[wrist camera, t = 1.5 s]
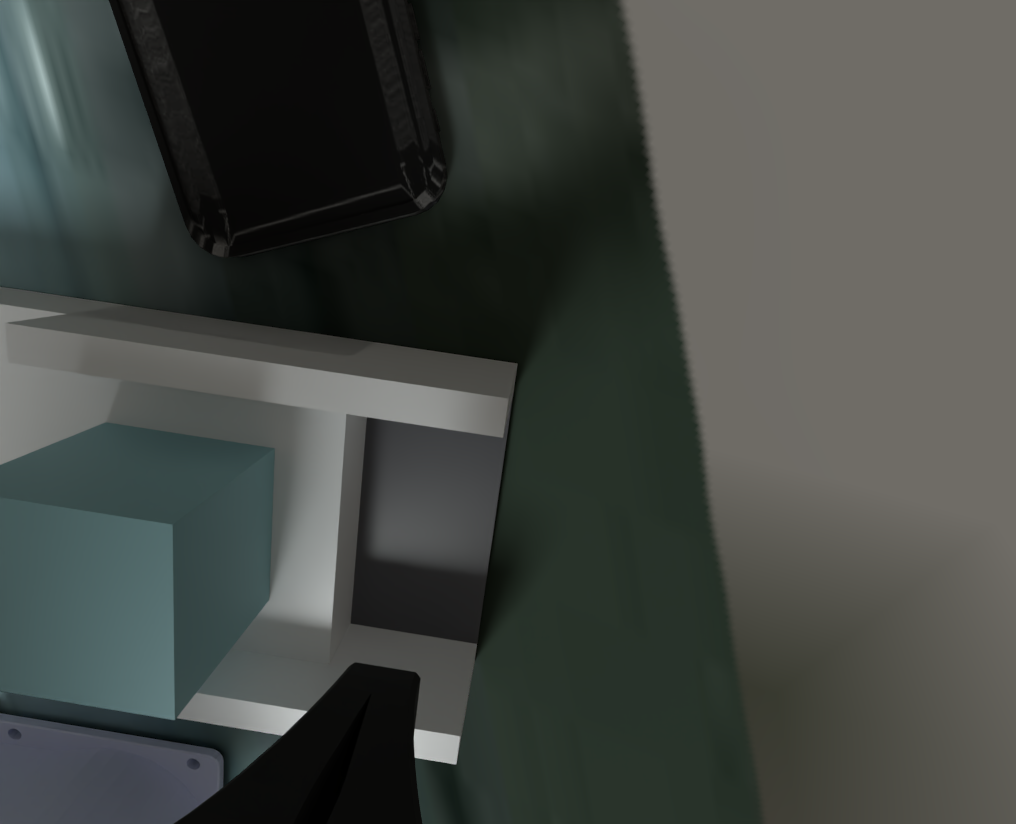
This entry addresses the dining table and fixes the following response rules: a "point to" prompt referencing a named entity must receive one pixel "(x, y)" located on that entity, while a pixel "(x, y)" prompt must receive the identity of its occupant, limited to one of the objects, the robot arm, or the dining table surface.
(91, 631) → the teal block
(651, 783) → the dining table surface
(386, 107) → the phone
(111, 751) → the robot arm
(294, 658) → the grey channel
